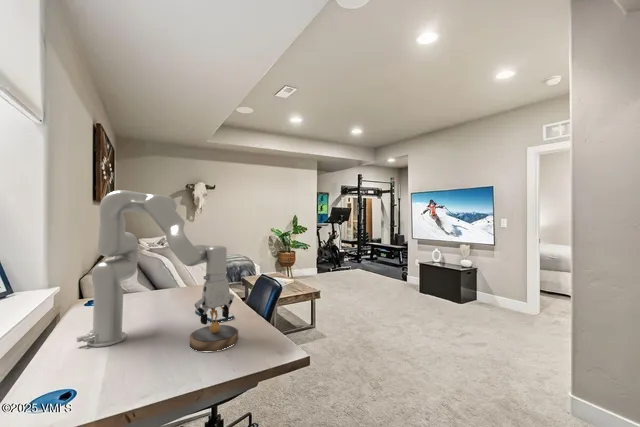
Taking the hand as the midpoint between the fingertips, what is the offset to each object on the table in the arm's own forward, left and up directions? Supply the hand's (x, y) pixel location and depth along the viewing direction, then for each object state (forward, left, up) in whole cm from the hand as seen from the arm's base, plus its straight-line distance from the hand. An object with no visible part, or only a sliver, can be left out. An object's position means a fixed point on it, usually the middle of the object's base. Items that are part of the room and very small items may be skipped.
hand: (215, 320), depth 117 cm
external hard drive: (+19, +28, -9) cm, 35 cm away
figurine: (0, 0, -5) cm, 5 cm away
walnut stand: (0, 0, -9) cm, 9 cm away
